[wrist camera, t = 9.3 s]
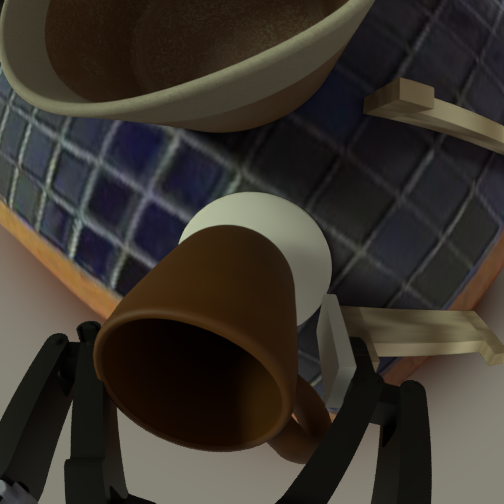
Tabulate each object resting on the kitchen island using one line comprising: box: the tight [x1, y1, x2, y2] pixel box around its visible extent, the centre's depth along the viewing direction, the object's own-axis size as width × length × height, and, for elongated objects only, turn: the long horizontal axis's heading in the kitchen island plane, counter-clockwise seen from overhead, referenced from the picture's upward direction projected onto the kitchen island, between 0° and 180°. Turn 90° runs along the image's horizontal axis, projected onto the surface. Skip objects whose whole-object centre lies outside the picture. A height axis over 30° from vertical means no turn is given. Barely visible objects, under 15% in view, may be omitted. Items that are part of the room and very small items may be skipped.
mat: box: [179, 192, 332, 326], centre depth 22 cm, size 12×12×1 cm
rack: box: [340, 77, 504, 373], centre depth 16 cm, size 15×17×7 cm
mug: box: [93, 224, 332, 464], centre depth 13 cm, size 12×8×9 cm, turn 46°
